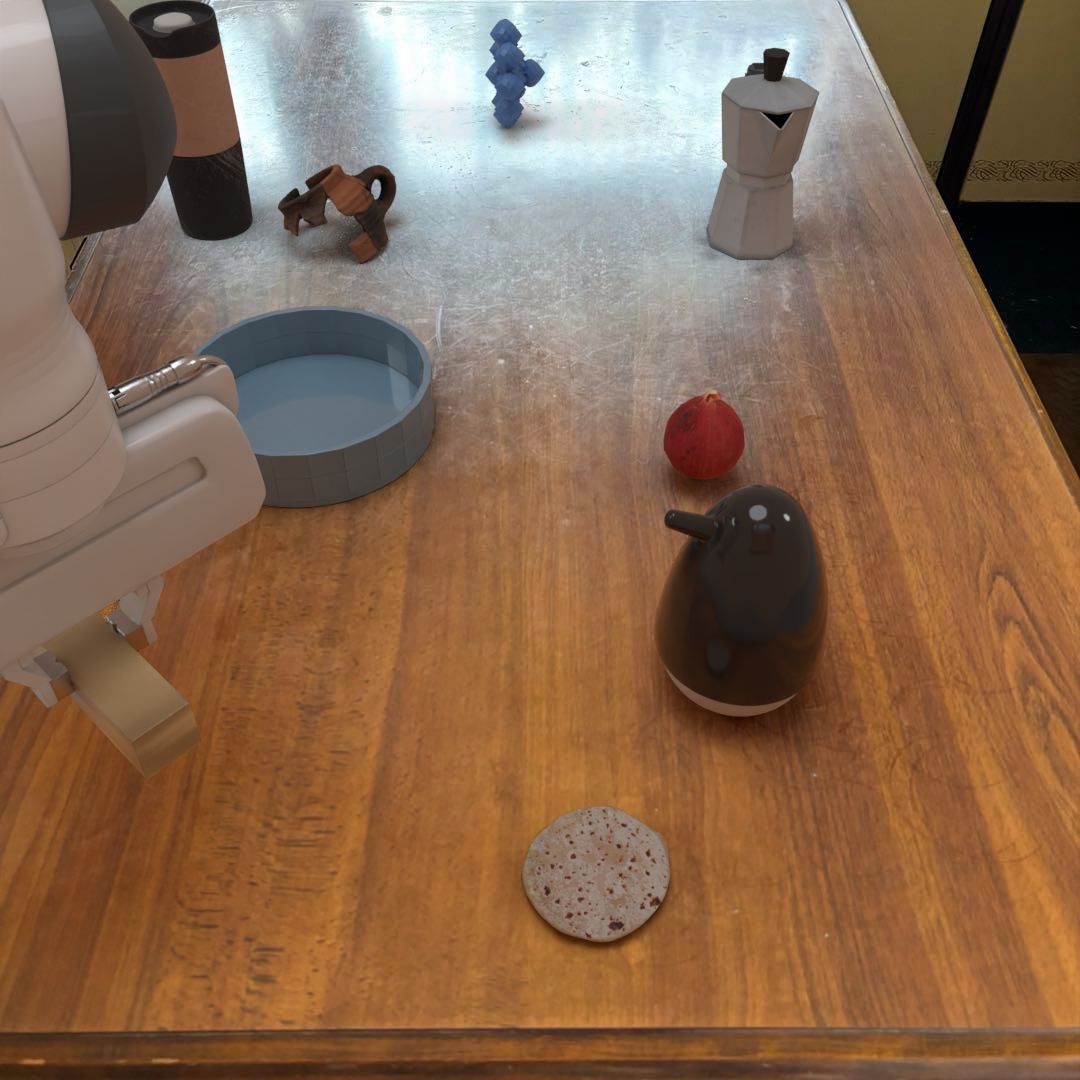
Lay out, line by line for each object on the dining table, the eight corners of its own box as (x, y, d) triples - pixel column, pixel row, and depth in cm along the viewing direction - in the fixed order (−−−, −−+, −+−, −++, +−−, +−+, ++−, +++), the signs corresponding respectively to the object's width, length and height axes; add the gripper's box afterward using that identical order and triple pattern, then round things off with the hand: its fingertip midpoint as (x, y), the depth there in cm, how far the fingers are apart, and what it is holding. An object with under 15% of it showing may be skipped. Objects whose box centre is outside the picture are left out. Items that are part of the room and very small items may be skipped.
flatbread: (581, 973, 56) (581, 964, 55) (496, 862, 60) (495, 853, 59) (701, 885, 59) (703, 876, 58) (613, 787, 63) (614, 777, 63)
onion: (676, 509, 81) (687, 422, 75) (649, 460, 84) (657, 374, 79) (749, 494, 82) (765, 408, 76) (719, 446, 86) (732, 361, 80)
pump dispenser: (636, 619, 73) (652, 440, 62) (791, 611, 73) (834, 432, 63) (658, 748, 66) (682, 570, 55) (830, 738, 66) (886, 560, 55)
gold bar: (17, 641, 56) (-2, 601, 54) (71, 609, 58) (54, 570, 56) (147, 780, 50) (130, 742, 48) (203, 741, 52) (189, 702, 50)
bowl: (141, 429, 87) (124, 377, 84) (331, 330, 97) (323, 280, 94) (291, 546, 78) (280, 493, 74) (485, 422, 88) (482, 371, 84)
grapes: (549, 146, 123) (551, 36, 115) (489, 149, 123) (486, 38, 115) (540, 104, 132) (540, -3, 123) (483, 106, 131) (480, -1, 123)
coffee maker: (805, 271, 104) (841, 79, 92) (712, 271, 104) (736, 80, 92) (779, 196, 115) (809, 16, 103) (695, 197, 115) (714, 16, 102)
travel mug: (233, 197, 115) (191, -7, 101) (270, 225, 111) (231, 16, 97) (165, 220, 111) (112, 11, 97) (200, 249, 107) (150, 36, 93)
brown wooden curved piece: (345, 283, 104) (292, 207, 99) (305, 285, 111) (254, 214, 107) (433, 209, 107) (386, 133, 103) (389, 216, 115) (343, 145, 111)
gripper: (182, 308, 50) (237, 527, 60) (-307, 532, 40) (-144, 755, 49) (266, 365, 47) (309, 586, 57) (-240, 624, 36) (-80, 842, 46)
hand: (96, 667), depth 53 cm, fingers closed on gold bar, 3 cm apart
